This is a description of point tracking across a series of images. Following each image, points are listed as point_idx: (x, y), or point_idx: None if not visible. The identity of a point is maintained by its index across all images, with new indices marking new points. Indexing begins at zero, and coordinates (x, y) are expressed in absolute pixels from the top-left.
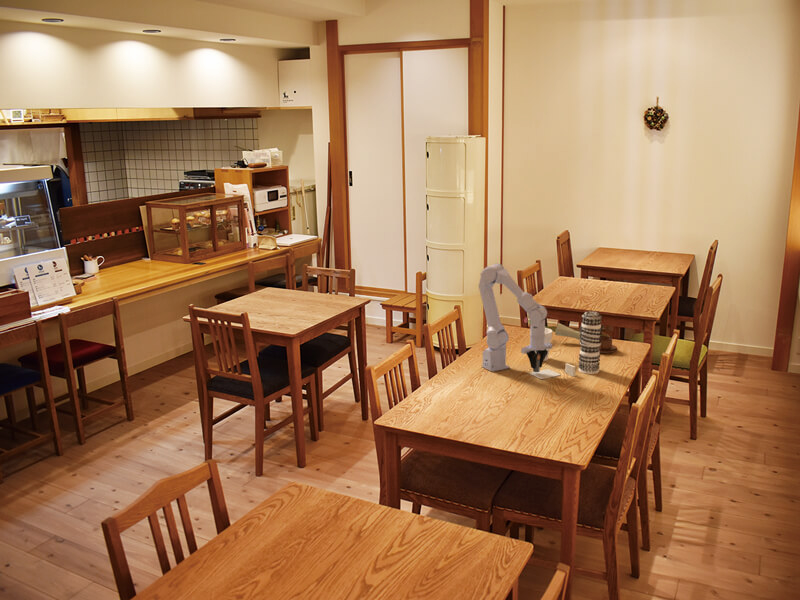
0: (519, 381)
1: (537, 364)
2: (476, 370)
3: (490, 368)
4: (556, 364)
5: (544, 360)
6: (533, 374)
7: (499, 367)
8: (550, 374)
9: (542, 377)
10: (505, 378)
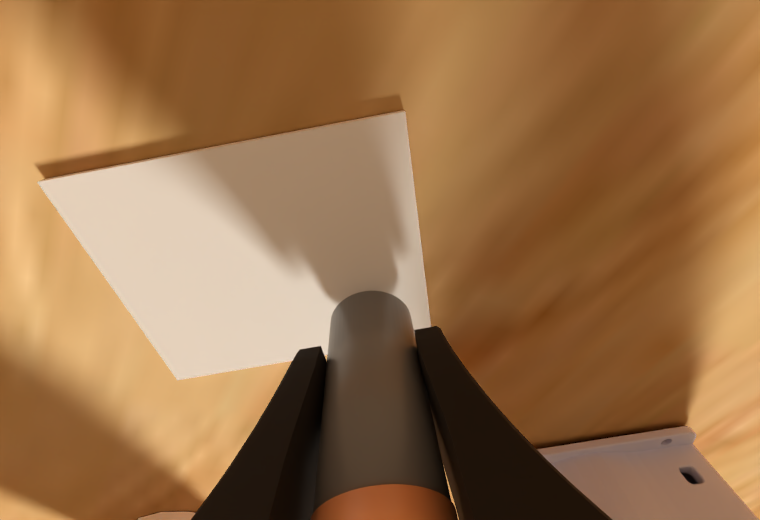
0: (715, 140)
1: (387, 380)
2: (739, 458)
3: (703, 456)
4: (63, 453)
5: (160, 516)
6: (416, 286)
7: (615, 462)
8: (200, 230)
9: (360, 158)
10: (742, 278)
